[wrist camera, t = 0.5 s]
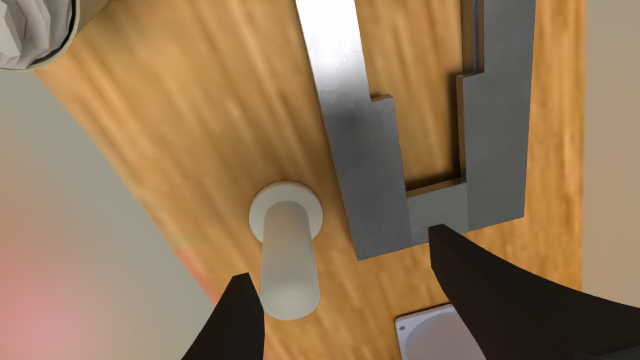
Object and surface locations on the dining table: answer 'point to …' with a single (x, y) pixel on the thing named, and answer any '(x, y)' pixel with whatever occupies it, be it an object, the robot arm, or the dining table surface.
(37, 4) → the ice cream cone
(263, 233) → the peg
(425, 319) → the robot arm
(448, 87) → the dining table surface
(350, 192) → the keyhole plate
